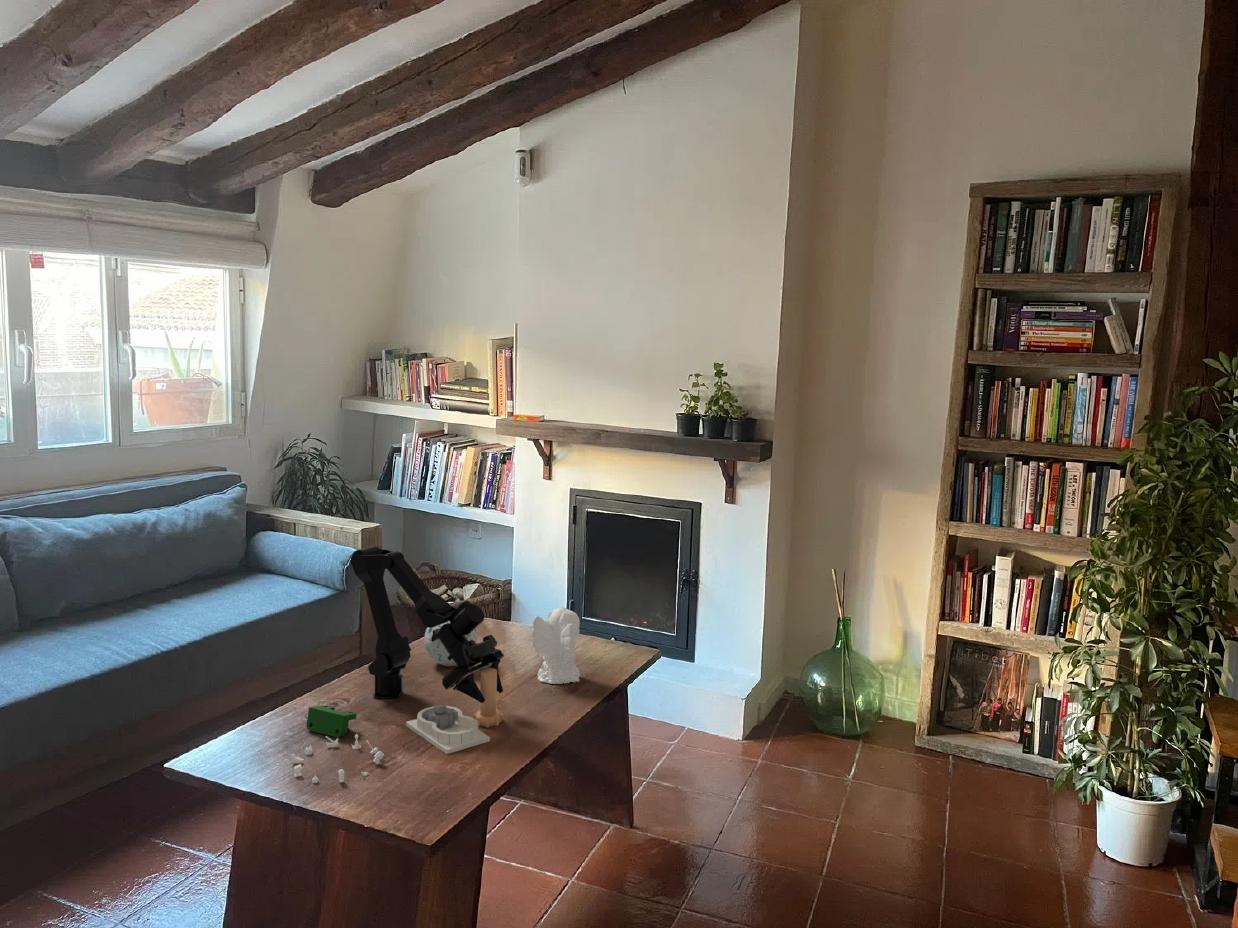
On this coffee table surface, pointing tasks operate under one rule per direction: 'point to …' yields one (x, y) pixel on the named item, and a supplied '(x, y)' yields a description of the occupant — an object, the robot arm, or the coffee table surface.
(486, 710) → the knob on notched ring
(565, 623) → the cherub figurine
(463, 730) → the housing
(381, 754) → the game piece set
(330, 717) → the clamp
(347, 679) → the coffee table surface
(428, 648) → the puzzle ball
